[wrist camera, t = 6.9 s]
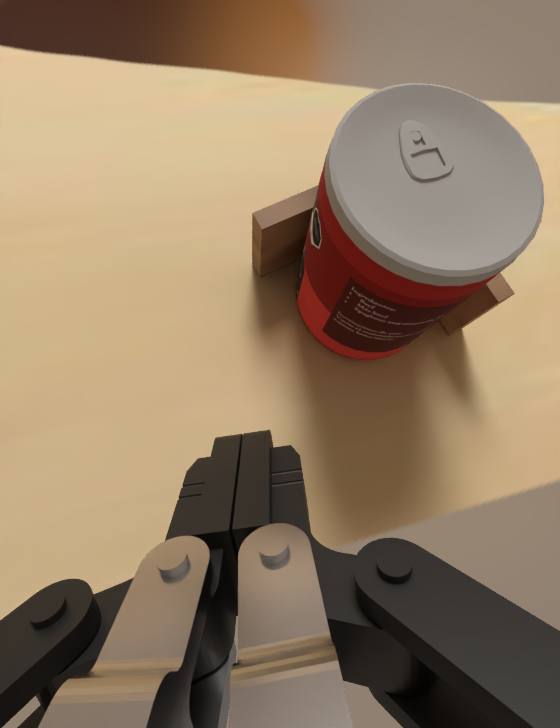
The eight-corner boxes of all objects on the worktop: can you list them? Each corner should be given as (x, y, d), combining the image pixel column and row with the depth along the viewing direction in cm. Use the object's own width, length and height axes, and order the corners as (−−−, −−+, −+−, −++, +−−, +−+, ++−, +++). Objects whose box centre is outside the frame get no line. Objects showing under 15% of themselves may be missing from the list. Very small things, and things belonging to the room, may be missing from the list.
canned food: (364, 222, 26) (444, 49, 15) (444, 318, 24) (595, 204, 14) (267, 282, 24) (280, 138, 13) (347, 389, 23) (431, 321, 12)
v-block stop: (248, 273, 24) (247, 225, 19) (282, 179, 26) (289, 113, 21) (460, 338, 24) (512, 306, 19) (478, 239, 26) (531, 187, 21)
